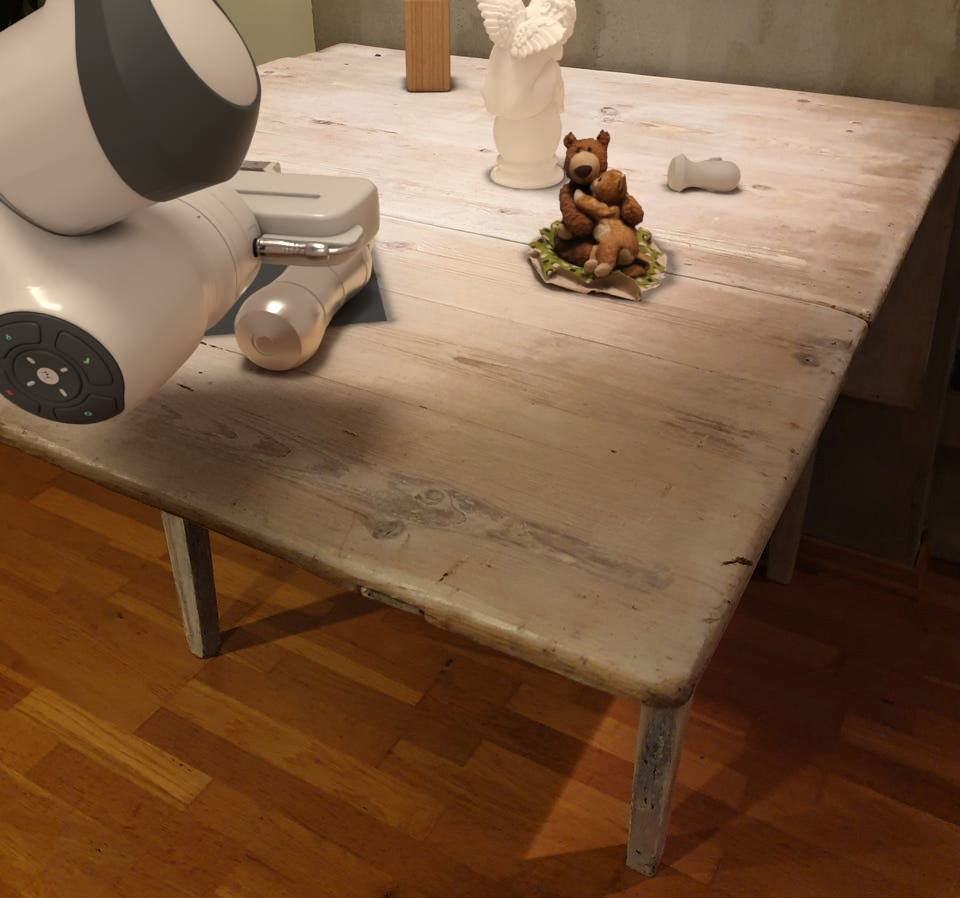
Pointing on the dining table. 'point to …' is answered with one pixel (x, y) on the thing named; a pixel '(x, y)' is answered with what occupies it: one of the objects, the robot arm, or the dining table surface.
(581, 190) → the bear figurine
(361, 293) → the mat
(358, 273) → the plastic bottle
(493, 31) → the cherub figurine
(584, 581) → the dining table surface
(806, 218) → the dining table surface
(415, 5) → the decorative item
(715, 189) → the pale two-lobed sculpture
